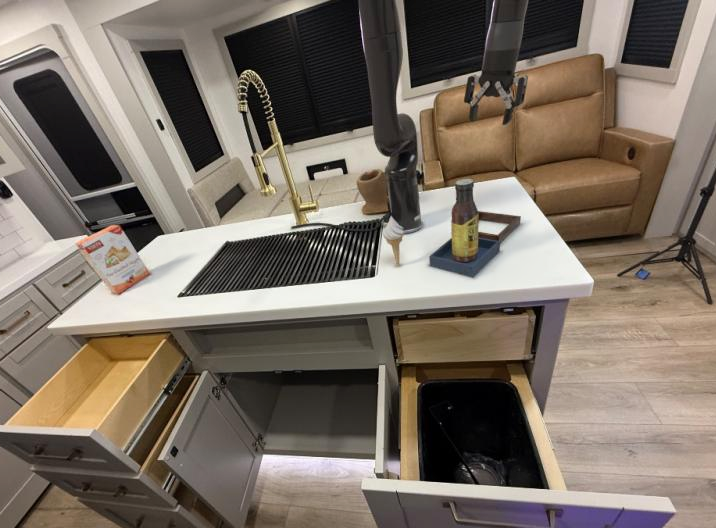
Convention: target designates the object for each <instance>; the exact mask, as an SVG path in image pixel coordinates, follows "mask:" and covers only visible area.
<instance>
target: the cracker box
mask: <svg viewBox="0 0 716 528" xmlns="http://www.w3.org/2000/svg"><path fill="white" fill-rule="evenodd" d="M75 246H76V247H77V248H78V250H79V251H80V252H81V254H83V256H84V257H85V259H86V261H87V262H88V263H89V265H90V266H91V267H92V268H93V270H94V271H95V272H96V274H97V275H98V277H100V280H101V281H102V282H103V283H104V284H105V286H106V287H107V289H108V290H109V291H110V292H111V293H112V294H116V295H120V294H122V292H124V291H126V290H128V289H129V288H130V287H132V286H134V285H135V284H137V283H139V282H140V281H142V280H143V279H145V278H146V277H148V276H150V275H151V272H150V270H149V269H148V268H147V266H146V265H145V263H144V261H143V260H142V258H141V256H140V255H139V254H138V251H137V250H136V249H135V247H134V246H133V244H132V242H131V241H130V239H129V238H128V236H127V235H126V233H125V231H124V230H123V228H122V226H121V225H117V224H116V225H114V224H111V225H109V226H107V227H105V228H103V229H101V230H100V231H96V232H95V233H93V234H91V235H88V236H87V237H85V238H83V239H81V240H79V241H77V242H75Z"/></svg>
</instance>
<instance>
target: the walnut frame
mask: <svg viewBox="0 0 716 528" xmlns="http://www.w3.org/2000/svg"><path fill="white" fill-rule="evenodd" d="M478 213H479V217H478V222H479V221H484V222H492V223H499V224H506V225H507V226H505V228H503V229H502V230H501V231H500V232H499V233H498V234H495V233H489V232H482V231H478V237H479V238H484V239H490V240H496V241H500V244H501V243H502V242H503V241H505V240H506V239H507V238H508V237H509V236H510V235H511V234H512V233H513V232H514V231H515V230H516V229H517V228H518V227H519V226H520V225H521V221H522V219H521V218H522V216H521V215H516V214H515V215H514V214H506V213H497V212H490V211H482V210H478Z"/></svg>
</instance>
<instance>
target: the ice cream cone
mask: <svg viewBox="0 0 716 528" xmlns="http://www.w3.org/2000/svg"><path fill="white" fill-rule="evenodd" d="M403 229H404V228H402V227H401V226H399V224H398V223H397V222H396V221H395V220H394V219H393V218H392V216H391V217H390V220H389V222H388V223H386V225H385V228H384V230H383V231H382V235H383V238H384V239H385V240H386V243H387V244H388V245H390V246H391V248H392V253H393V256H394V260H395V264H396V266H397V267H399V266H400V244H401V243H402V241H403V239H404V238H403V237H404V235H405V234H404V231H403Z"/></svg>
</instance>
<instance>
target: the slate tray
mask: <svg viewBox="0 0 716 528" xmlns="http://www.w3.org/2000/svg"><path fill="white" fill-rule="evenodd" d="M500 252H501V243H500V241H496V240H490V239H484V238H479V237H478V252H477V257H476V258H475V259H474V260H472V261H469V262H458V261H456V260H454V258H453V253H452V237H451V238H449V239H448V240H447V241H446V242H444V243H443V244H442V245H441V246H440V247H438V248H437V249H435V251H434V252H432V253H431V254H429V256H428V259H429V267H432V268H435V269H439V270H443V271H447V272H450V273H453V274H454V273H455V274H459V275H461V276H466V277H469V278H474V277H475V276H477V274H479V272H481V271H482V270H483V269H484V268H485V267H486V266H487V265H488V264H489V263H490V262H491V261H492V260H493V259H494V258H495V257H496V256H497V255H498V254H499V253H500Z"/></svg>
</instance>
